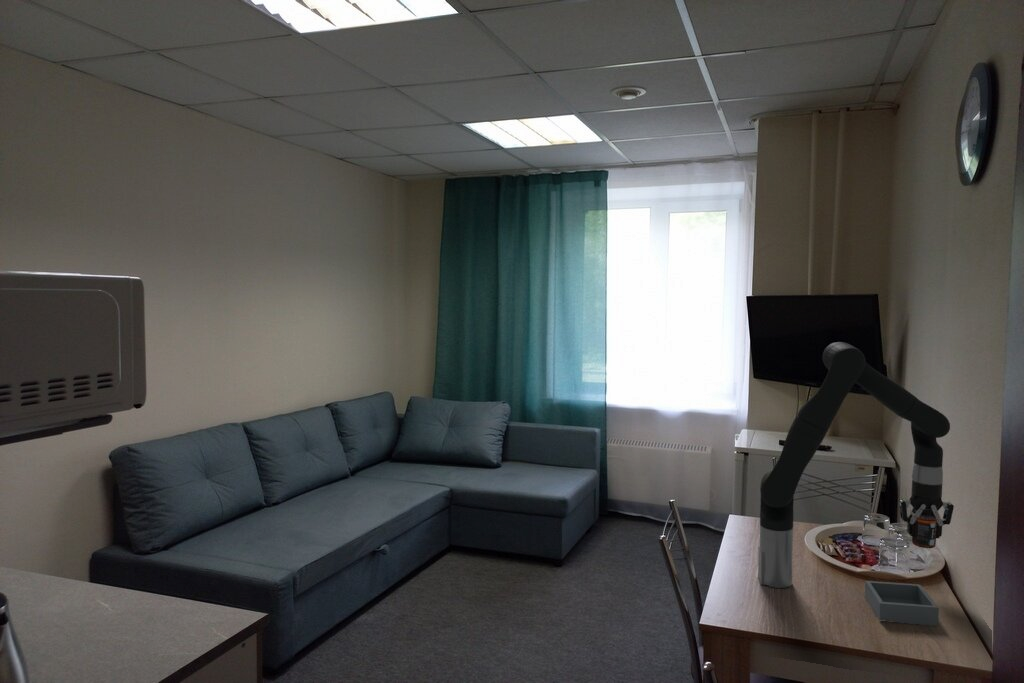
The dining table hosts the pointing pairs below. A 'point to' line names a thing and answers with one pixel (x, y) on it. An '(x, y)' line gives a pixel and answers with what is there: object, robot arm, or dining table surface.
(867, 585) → the grey bin
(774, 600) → the dining table surface
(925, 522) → the supplement bottle
